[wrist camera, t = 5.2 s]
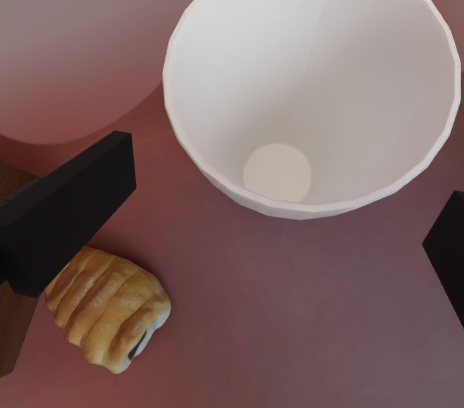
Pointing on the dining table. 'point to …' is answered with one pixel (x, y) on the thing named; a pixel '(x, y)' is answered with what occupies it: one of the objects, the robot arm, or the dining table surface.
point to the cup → (311, 98)
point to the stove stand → (12, 304)
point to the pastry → (107, 307)
